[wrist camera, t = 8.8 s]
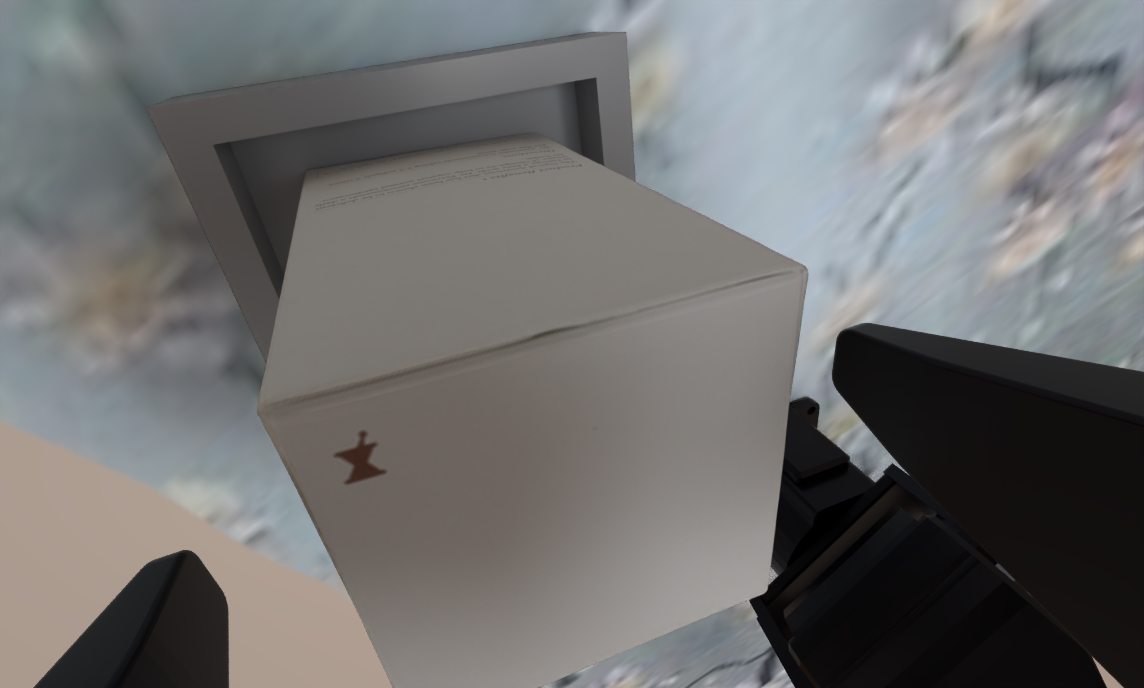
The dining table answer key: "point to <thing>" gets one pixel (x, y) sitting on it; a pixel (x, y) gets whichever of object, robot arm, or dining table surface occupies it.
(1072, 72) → the dining table surface
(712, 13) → the dining table surface
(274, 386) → the supplement box
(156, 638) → the robot arm
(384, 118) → the tray
